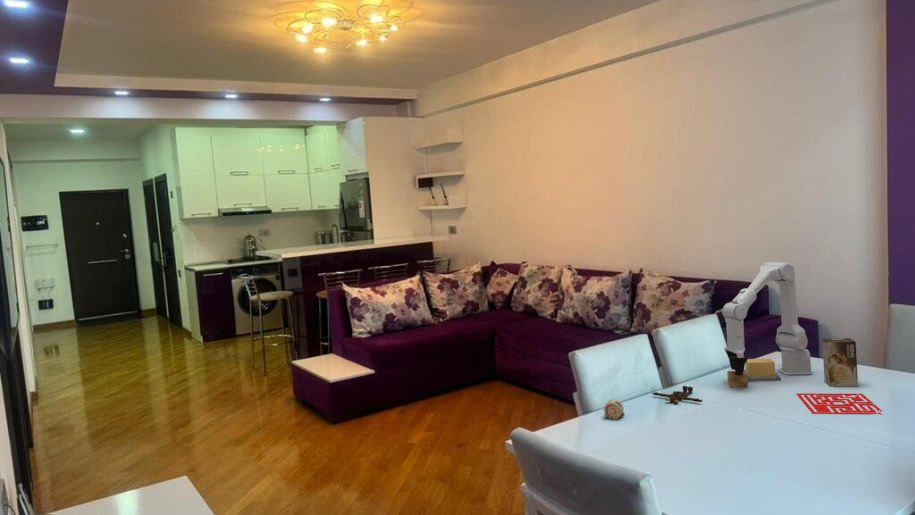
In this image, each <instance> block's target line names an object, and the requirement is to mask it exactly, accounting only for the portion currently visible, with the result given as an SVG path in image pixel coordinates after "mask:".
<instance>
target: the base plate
mask: <svg viewBox="0 0 915 515" xmlns="http://www.w3.org/2000/svg"><path fill="white" fill-rule="evenodd" d="M744 371H745V372H746V369H744ZM747 375H748V374H747ZM781 381H782V377H781V376H780V375H779V374H778V373H777V372H776V371H775V375H771V376H749V375H748V383H749V382H781Z"/></svg>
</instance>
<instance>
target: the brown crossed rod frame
mask: <svg viewBox="0 0 915 515" xmlns="http://www.w3.org/2000/svg"><path fill="white" fill-rule="evenodd" d="M693 391H694V387H692V386H687V385H683V386H682V391H679V390H676V391H674V390H673V392H672V393H671V394H669V393H660V392H657V391H655V392H652V395H653V396H658V397H665V398H666V399H665V401H667V402H670V403H671V404H677V403H679V402H680V401H681V400H682V401H690V402H691V401H692V402H695V403H696V402H697V403H703V402H704V400H703V399H699V397H697V398H694V397H689V396H690V395H692V394H693Z"/></svg>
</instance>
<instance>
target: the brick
mask: <svg viewBox="0 0 915 515" xmlns="http://www.w3.org/2000/svg"><path fill="white" fill-rule="evenodd" d="M745 370H746V373H747V374H748V375H749V376H771V375H775V372H776V364H775V361H774V360H773V359H772V358H748V360H747V361H746V363H745Z"/></svg>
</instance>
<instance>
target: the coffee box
mask: <svg viewBox="0 0 915 515" xmlns="http://www.w3.org/2000/svg"><path fill="white" fill-rule="evenodd" d="M821 340H822V358H823V377H824V383H825V384H826V385H827V386H828V387H832V386H833V387H834V386H835V387H834V388H836V386H837V387H859V378H858V359H857V356H858V355H857V344H856V343H857V342H856V340H854V339H852V338H851V337H841V338H839V337H838V338H836V337H833V338H832V337H831V338H830V337H829V338H828V337H827V338H821Z"/></svg>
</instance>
